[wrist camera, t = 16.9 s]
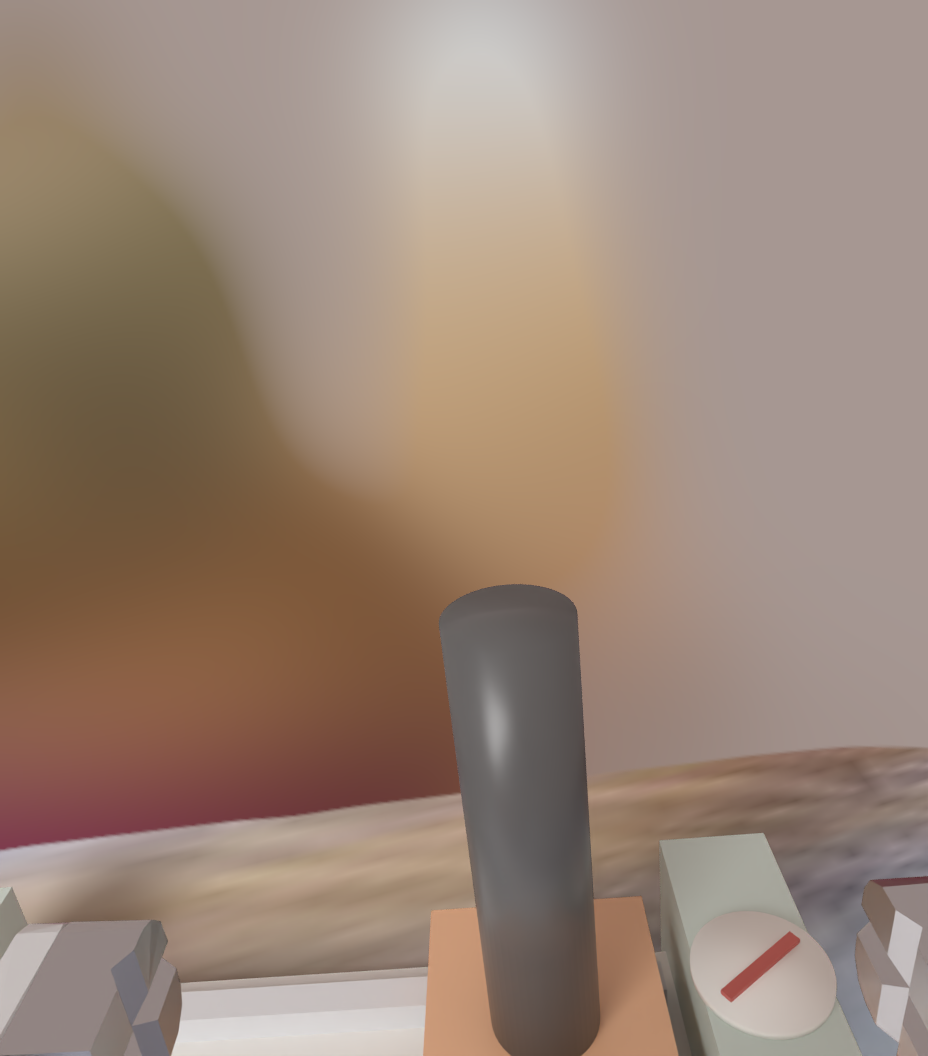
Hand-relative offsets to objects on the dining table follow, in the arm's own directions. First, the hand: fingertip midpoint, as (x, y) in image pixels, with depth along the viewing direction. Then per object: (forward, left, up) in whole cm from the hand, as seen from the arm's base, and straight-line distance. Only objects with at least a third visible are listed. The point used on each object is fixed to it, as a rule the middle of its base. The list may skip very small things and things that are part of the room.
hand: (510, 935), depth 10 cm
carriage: (-6, +10, -19) cm, 23 cm away
